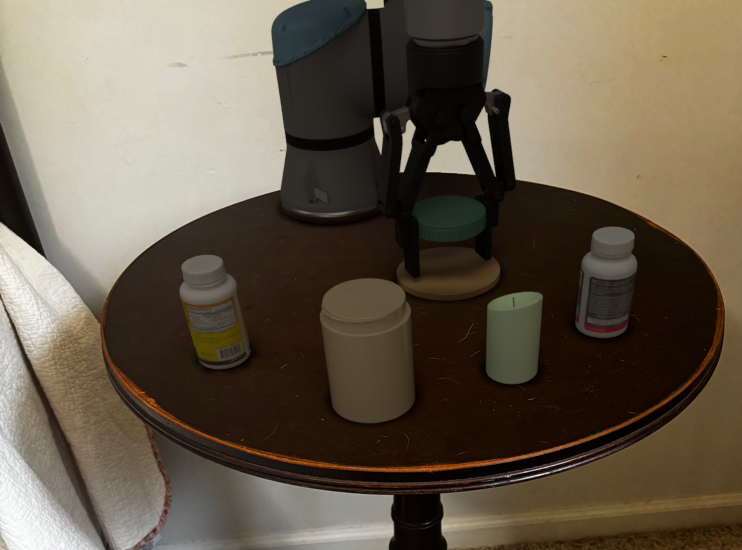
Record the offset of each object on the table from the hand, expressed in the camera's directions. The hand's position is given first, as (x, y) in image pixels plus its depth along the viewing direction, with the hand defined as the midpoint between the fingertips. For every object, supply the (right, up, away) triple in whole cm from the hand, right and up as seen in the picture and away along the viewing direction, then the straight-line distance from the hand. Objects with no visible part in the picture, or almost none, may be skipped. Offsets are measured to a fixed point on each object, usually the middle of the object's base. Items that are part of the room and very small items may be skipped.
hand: (448, 263), depth 92 cm
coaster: (0, -1, +1) cm, 2 cm away
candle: (+5, -15, -13) cm, 21 cm away
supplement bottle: (-24, -13, -9) cm, 28 cm away
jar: (-8, -18, -16) cm, 25 cm away
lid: (0, +4, -4) cm, 6 cm away
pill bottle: (+15, -10, -8) cm, 20 cm away
